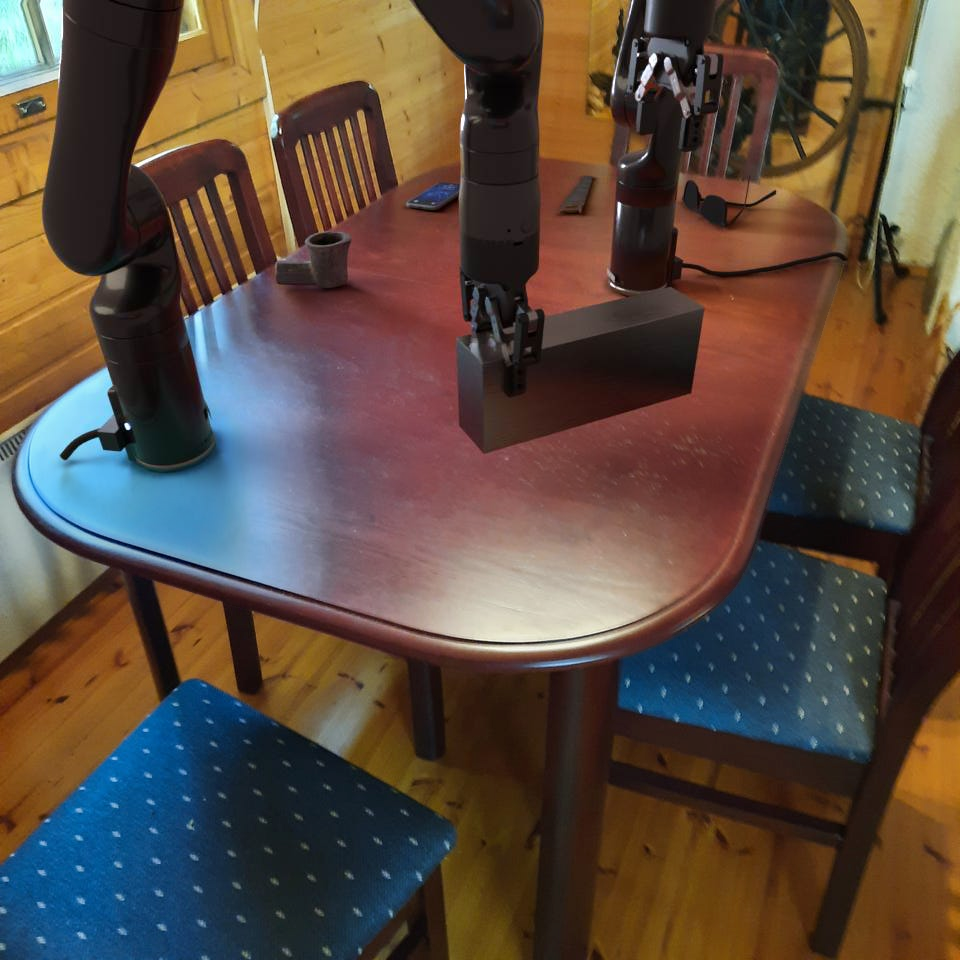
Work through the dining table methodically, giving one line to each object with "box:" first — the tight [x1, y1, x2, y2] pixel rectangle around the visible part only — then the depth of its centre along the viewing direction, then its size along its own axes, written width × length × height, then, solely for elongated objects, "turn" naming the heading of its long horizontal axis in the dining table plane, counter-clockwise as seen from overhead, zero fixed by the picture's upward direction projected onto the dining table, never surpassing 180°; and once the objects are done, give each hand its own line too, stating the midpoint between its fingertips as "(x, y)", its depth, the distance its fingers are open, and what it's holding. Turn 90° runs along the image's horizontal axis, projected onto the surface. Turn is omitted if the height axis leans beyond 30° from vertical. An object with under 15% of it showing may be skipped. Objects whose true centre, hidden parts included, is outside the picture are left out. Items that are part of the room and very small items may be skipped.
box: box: [455, 286, 706, 455], centre depth 94 cm, size 27×6×11 cm, turn 116°
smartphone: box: [406, 181, 460, 211], centre depth 174 cm, size 7×1×15 cm
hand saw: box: [558, 175, 594, 215], centre depth 174 cm, size 24×5×1 cm, turn 168°
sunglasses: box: [681, 175, 777, 228], centre depth 163 cm, size 17×14×5 cm
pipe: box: [274, 230, 352, 289], centre depth 138 cm, size 6×13×8 cm, turn 95°
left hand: (499, 379), depth 89 cm, fingers closed on box, 6 cm apart
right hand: (665, 142), depth 102 cm, fingers open, 8 cm apart
